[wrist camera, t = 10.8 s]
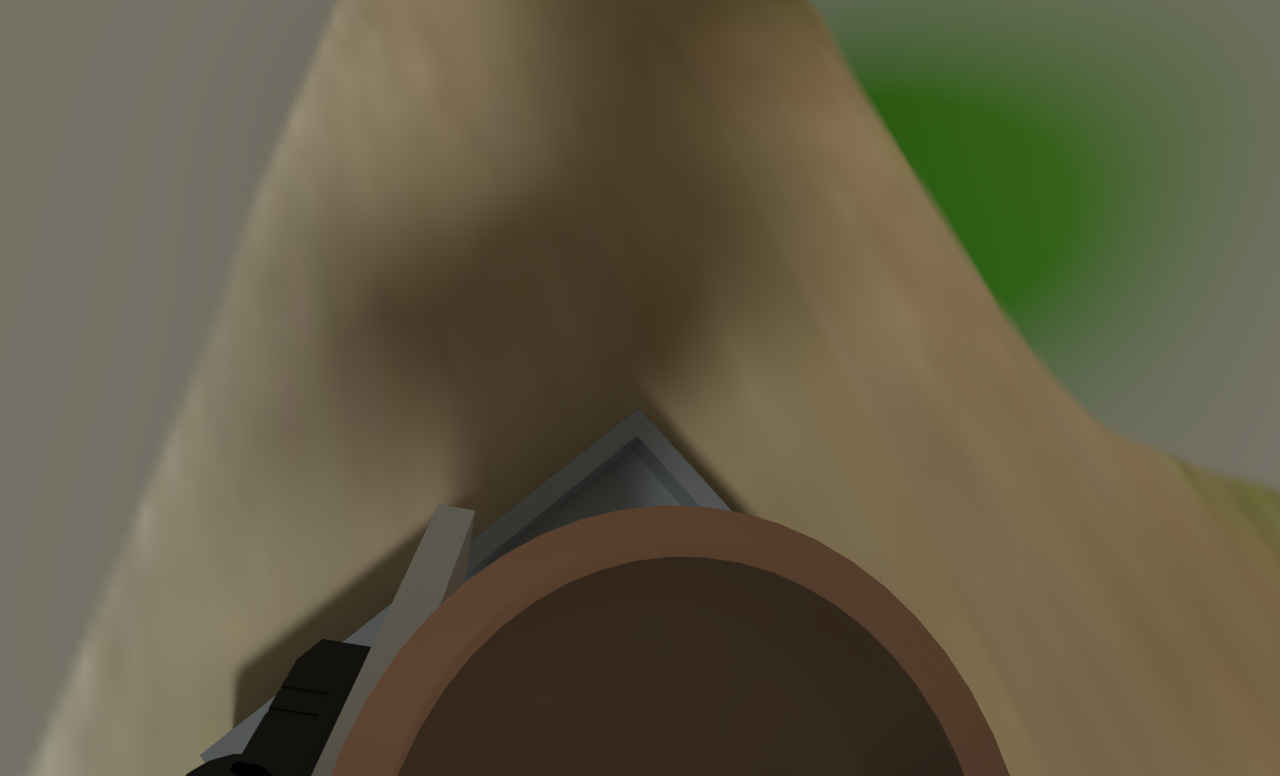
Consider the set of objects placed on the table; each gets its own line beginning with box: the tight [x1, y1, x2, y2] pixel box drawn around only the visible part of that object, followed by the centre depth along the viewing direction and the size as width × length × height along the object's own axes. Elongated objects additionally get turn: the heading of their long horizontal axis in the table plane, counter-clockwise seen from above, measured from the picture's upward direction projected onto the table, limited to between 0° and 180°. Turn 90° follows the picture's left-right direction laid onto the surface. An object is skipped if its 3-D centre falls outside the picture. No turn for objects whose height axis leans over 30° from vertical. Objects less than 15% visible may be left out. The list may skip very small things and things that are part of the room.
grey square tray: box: [200, 407, 731, 763], centre depth 24 cm, size 15×18×2 cm
